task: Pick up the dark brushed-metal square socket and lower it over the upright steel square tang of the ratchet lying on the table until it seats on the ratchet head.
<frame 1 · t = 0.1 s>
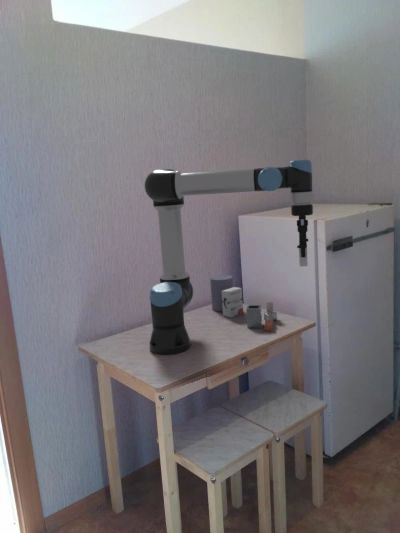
hand: (303, 262, 173), 28 cm above the table, fingers open, 13 cm apart
container: (223, 309, 222), on the table
ink box: (233, 315, 211), on the table
socket: (254, 325, 193), on the table
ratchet: (270, 319, 200), on the table
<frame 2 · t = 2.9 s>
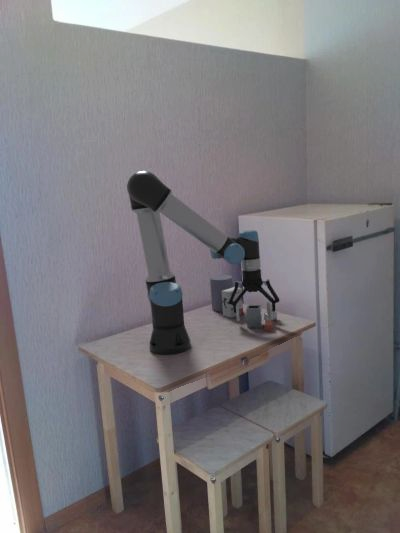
hand: (255, 320, 193), 2 cm above the table, fingers open, 13 cm apart
nothing on the table moved.
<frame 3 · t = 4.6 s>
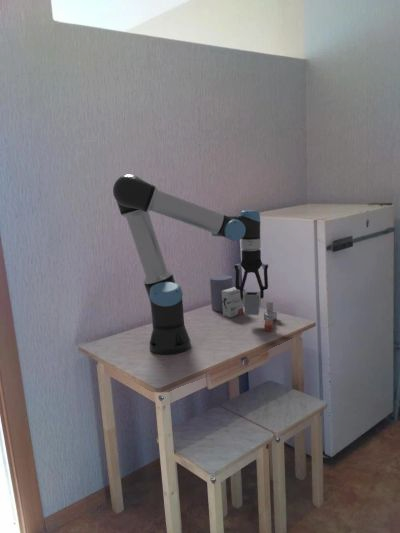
hand: (252, 305, 192), 9 cm above the table, fingers closed on socket, 5 cm apart
socket: (252, 312, 192), point 6 cm above the table, touching gripper
everything else where it was.
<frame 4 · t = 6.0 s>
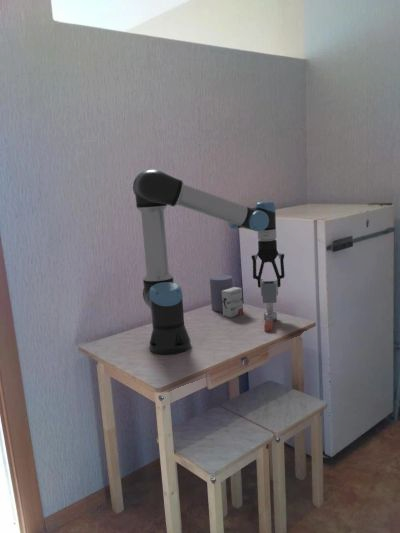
hand: (269, 294, 198), 11 cm above the table, fingers closed on socket, 5 cm apart
socket: (269, 301, 198), point 8 cm above the table, touching gripper
everything else where it was.
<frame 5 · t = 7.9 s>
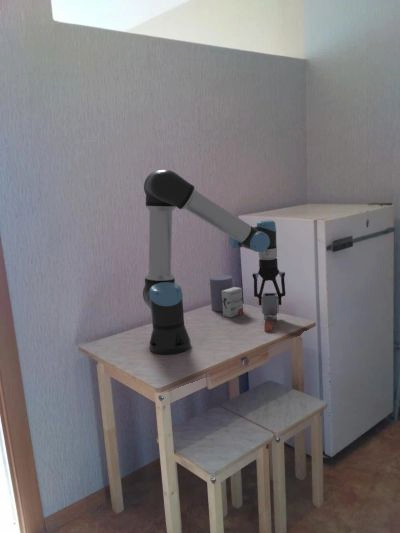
hand: (270, 312, 199), 3 cm above the table, fingers closed on socket, 6 cm apart
socket: (270, 313, 199), point 3 cm above the table, touching gripper, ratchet
everything else where it was.
when the fingers open (3 cm above the table, at t = 8.1 s): socket stays where it is, resting on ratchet.
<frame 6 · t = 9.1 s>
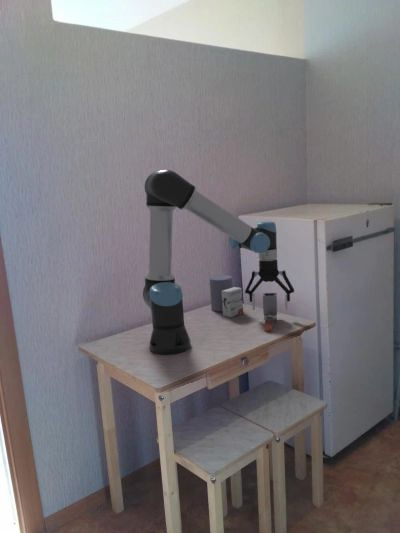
hand: (270, 309, 199), 5 cm above the table, fingers open, 13 cm apart
socket: (270, 313, 199), point 3 cm above the table, touching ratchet
everything else where it was.
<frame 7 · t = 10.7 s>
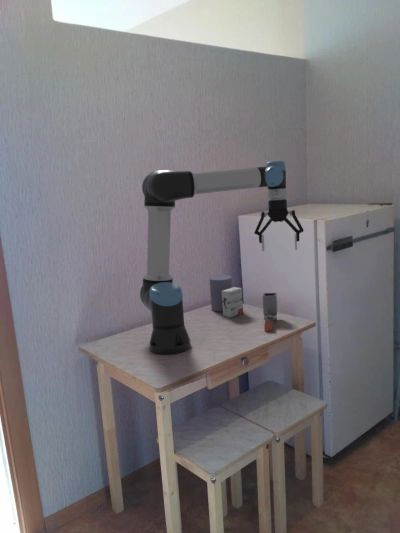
hand: (279, 250, 199), 29 cm above the table, fingers open, 13 cm apart
nothing on the table moved.
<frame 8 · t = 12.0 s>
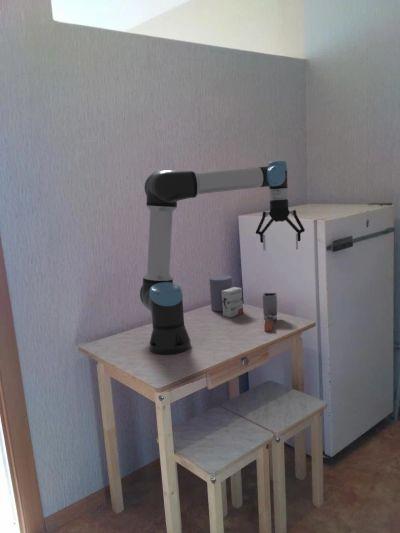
hand: (280, 249, 200), 29 cm above the table, fingers open, 13 cm apart
nothing on the table moved.
at the end: socket 0.1 cm off-centre on the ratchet, point 3.0 cm above the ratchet's base; socket tilted 0°; the gripper is holding nothing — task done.
